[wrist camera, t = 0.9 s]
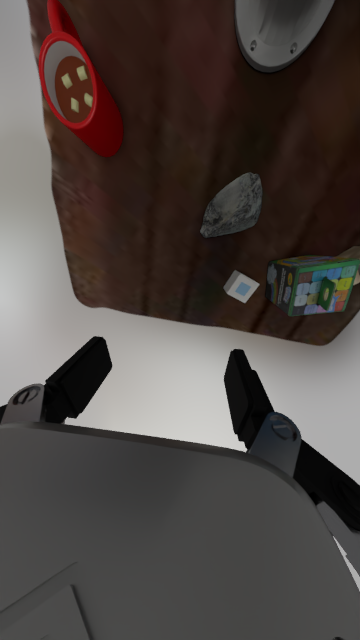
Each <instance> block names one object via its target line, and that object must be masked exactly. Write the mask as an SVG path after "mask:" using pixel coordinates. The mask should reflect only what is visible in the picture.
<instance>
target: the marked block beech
mask: <svg viewBox="0 0 360 640" xmlns="http://www.w3.org/2000/svg"><path fill="white" fill-rule="evenodd" d="M337 257H342V258H356V259H360V246H354V247H352V248H350V249H349V250H347V251H345V252H343V253H342V254H340V255H338V256H337ZM359 282H360V264H359V267H358V271H357V274H356V277H355V281H354V284H353V285H355V284H357V283H359Z"/></svg>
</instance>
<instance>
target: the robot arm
mask: <svg viewBox="0 0 360 640" xmlns="http://www.w3.org/2000/svg"><path fill="white" fill-rule="evenodd" d="M334 1H335V0H235V11H234V18H235V29H236V35H237V39H238V44H239V46H240V49H241V51H242V54H243V56H244V57H245V59H246V60H247V62H248V63H249V64H250V65H251V66H252V67H254V68H255V69H257V70H259V71H262V72H274V71H279V70H281V69H283V68H285V67H287V66H289V65H290V64H291V63H292V62H294V61H295V60H296V59H297V58H298V57H299V56H300V55H301V54H302V53H303V52H304V51H305V50H306V49H307V48H308V46H309V45H310V43H311V42H312V41H313V39H314V38H315V36H316V35H317V33H318V31H319V30H320V28H321V26H322V25H323V23H324V21H325V19H326V17H327V15H328V13H329V12H330V10H331V8H332V6H333V3H334ZM111 368H112V362H111V359H110V355H109V351H108V348H107V344H106V340H105V339H104V338H103V337H96V336H95V337H93V338H91V339H90V340H89V341H88V342H87V343H86V344H85V345H84V346H83V347H82V348H81V349H79V350H78V351H77V352H76V353H75V354H74V355H73V356H72V357H71V358H70V359H69V360H68V361H66V362H65V363H64V364H63V365H62V366H61V367H60V368H59V369H58V370H57V371H56V372H54V373H53V374H52V375H51V376H50V377H49V378H48V379H47V380H46V384H45V385H44V386H43V385H42V384H32V385H29V386H27V387H24V388H23V389H21V390H19V391H18V392H17V393H15V394H14V395H13V396H12V397H11V398H10V400H9V402H8V404H6V405H4V406H1V407H0V640H360V592H359V589H358V587H357V585H356V583H355V581H354V579H353V577H352V574H351V572H350V570H349V568H348V566H347V564H346V562H345V560H344V558H343V556H342V554H341V552H340V550H339V548H338V546H337V544H336V542H335V540H334V538H333V536H334V537H335V538H336V540H337V541H338V542H339V544H340V545H341V547H342V548H343V549H344V551H345V552H346V553H347V555H346V558H347V559H348V560H349V562H350V563H351V564H352V565H353V567H354V569H355V570H356V571H357V573H358V574H359V576H360V485H358V484H357V483H356V482H355V481H354V480H353V479H351V478H350V477H349V476H348V475H347V474H345V473H344V472H343V471H342V470H340V469H339V468H338V467H336V466H335V465H334V464H333V463H331V462H330V461H328V459H326V458H325V457H324V456H322V455H321V454H320V453H319V452H317V451H316V450H315V449H314V448H312V447H311V446H310V445H309V444H307V443H306V442H305V441H304V440H302V439H301V434H300V431H299V429H298V428H297V426H296V425H295V424H294V423H293V422H292V420H290V419H289V418H288V417H287V416H285V415H283V414H281V413H278V412H274V410H273V407H272V405H271V403H270V401H269V399H268V396H267V394H266V392H265V390H264V388H263V385H262V383H261V381H260V379H259V377H258V374H257V372H256V371H255V370H252V369H251V367H250V365H249V362H248V360H247V357H246V355H245V353H244V351H243V350H241V349H234V350H233V351H231V352H230V357H229V361H228V364H227V368H226V372H225V375H224V383H225V388H226V394H227V399H228V404H229V409H230V414H231V419H232V424H233V430H234V433H235V434H237V435H238V439H239V441H243V442H244V443H245V447H246V448H247V451H246V453H245V452H243V451H238V450H234V449H229V448H224V447H218V446H212V445H206V444H200V443H193V442H186V441H180V440H172V439H166V438H159V437H152V436H145V435H138V434H131V433H124V432H117V431H110V430H102V429H95V428H88V427H81V426H73V425H66V424H64V423H65V419H66V418H67V417H69V418H77V417H78V415H79V414H80V413H82V412H83V410H84V409H85V408H86V406H87V405H88V403H89V402H90V400H91V399H92V397H93V396H94V394H95V393H96V391H97V390H98V388H99V387H100V385H101V384H102V382H103V381H104V379H105V378H106V376H107V375H108V373H109V372H110V370H111Z"/></svg>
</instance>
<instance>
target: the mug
mask: <svg viewBox="0 0 360 640" xmlns="http://www.w3.org/2000/svg"><path fill="white" fill-rule="evenodd" d="M47 9H48V17H49V22H50V26H51V29H52V33H51V34H49V35H48V36H47V37H46V39H45V40H44V42H43V44H42V47H41V50H40V55H39V76H40V81H41V86H42V89H43V92H44V95H45V98H46V100H47V102H48V104H49V106H50V108H51V110H52V111H53V113H54V114H55V115H56V117H57V118H58V119H59V120H60V121H61V122H62V123H63V124H64V125H65V126H66V127H67V128H68V129H70V130H71V131H72V132H73V133H74V134H75V135H76V136H77V137H79V138H80V139H81V140H82V141H83V142H84V143H85V144H86V145H87V146H89V147H90V148H91V149H92V150H93V151H94V152H95V153H97V154H98V155H100V156H103V157H110V156H113V155H114V154H115V153H117V151H118V150H119V148H120V146H121V144H122V140H123V122H122V117H121V114H120V111H119V109H118V107H117V105H116V103H115V101H114V100H113V98H112V96H111V95H110V93H109V91H108V89H107V88H106V86H105V84H104V82H103V81H102V79H101V77H100V76H99V74H98V72H97V70H96V69H95V67H94V65H93V63H92V62H91V60H90V58H89V57H88V55H87V53H86V51H85V50H84V48H83V45H82V43H81V40H80V38H79V35H78V33H77V31H76V29H75V27H74V24H73V22H72V20H71V18H70V17H69V15H68V13H67V11H66V10H65V8H64V7H63V5H62V4H61V3H60V2H59V1H58V0H48V2H47Z"/></svg>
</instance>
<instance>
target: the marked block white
mask: <svg viewBox="0 0 360 640" xmlns="http://www.w3.org/2000/svg"><path fill="white" fill-rule="evenodd" d="M259 285H260V284H258V283H257V282H255V281H254V280H252V279H251V278H249V277H247V276H245V275H244V274H242V273H240V272H238V271H236V270H235V271H234V272H233V274H232V275H231V277H230V278H229V280H228V281H227V283H226V284H225V286H224V287H223V288H224V290H225V291H226V293H227V294H228V295H230V296H232V297H234V298H236V299H238V300H240V301H242V302H244V303H246V301H247V300H248V299H249V297H250V296H251V295H252V294H253V292H254V291H255V290H256V288H257V287H258V286H259Z"/></svg>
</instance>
